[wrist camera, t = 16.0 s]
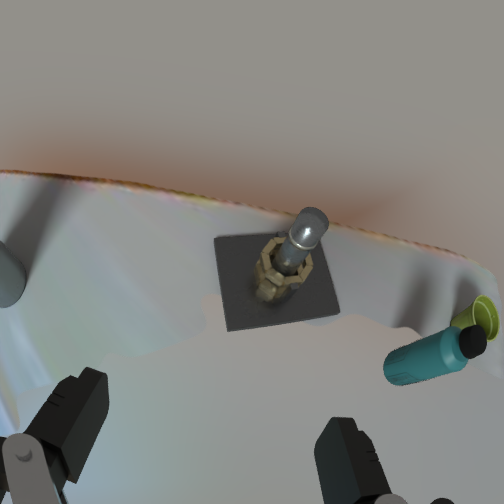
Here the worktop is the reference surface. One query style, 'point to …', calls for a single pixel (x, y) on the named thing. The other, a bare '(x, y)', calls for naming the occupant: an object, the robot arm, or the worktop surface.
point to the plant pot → (480, 317)
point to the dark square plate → (270, 284)
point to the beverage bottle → (435, 355)
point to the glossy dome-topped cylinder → (300, 241)
